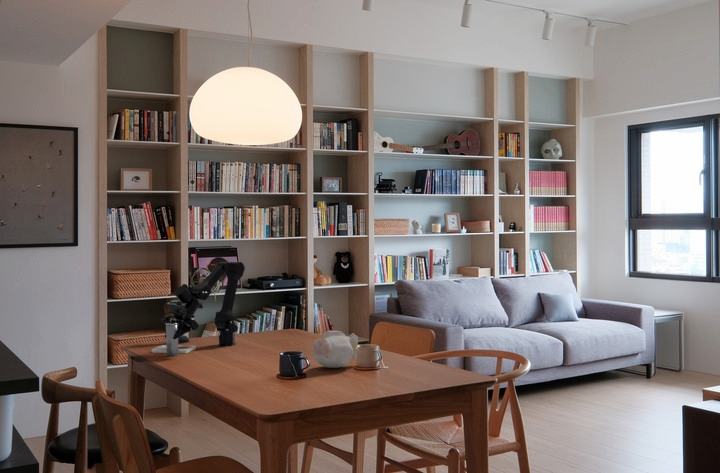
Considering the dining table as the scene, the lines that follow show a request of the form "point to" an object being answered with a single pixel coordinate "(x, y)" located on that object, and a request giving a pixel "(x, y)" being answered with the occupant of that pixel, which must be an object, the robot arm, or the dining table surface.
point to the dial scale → (180, 349)
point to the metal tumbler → (171, 339)
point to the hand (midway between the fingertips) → (169, 338)
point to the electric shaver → (182, 338)
